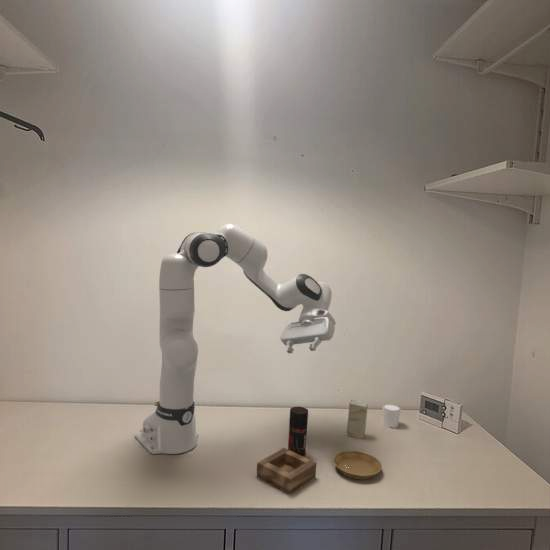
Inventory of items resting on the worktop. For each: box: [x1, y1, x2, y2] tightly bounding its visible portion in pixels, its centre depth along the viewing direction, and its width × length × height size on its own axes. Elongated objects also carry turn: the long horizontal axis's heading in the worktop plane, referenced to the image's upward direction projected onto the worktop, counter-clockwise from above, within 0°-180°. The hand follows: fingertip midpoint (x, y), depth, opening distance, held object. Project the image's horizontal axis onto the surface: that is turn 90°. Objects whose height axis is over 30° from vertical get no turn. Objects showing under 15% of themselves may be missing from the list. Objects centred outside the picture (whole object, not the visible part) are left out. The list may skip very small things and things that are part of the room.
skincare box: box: [346, 399, 369, 440], centre depth 157 cm, size 6×4×12 cm
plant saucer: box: [333, 450, 382, 480], centre depth 134 cm, size 15×15×3 cm
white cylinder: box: [382, 403, 401, 428], centre depth 168 cm, size 7×7×7 cm
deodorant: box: [287, 406, 309, 458], centre depth 141 cm, size 6×6×15 cm
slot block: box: [256, 447, 317, 496], centre depth 127 cm, size 12×12×4 cm
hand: (300, 351), depth 145 cm, fingers open, 8 cm apart
